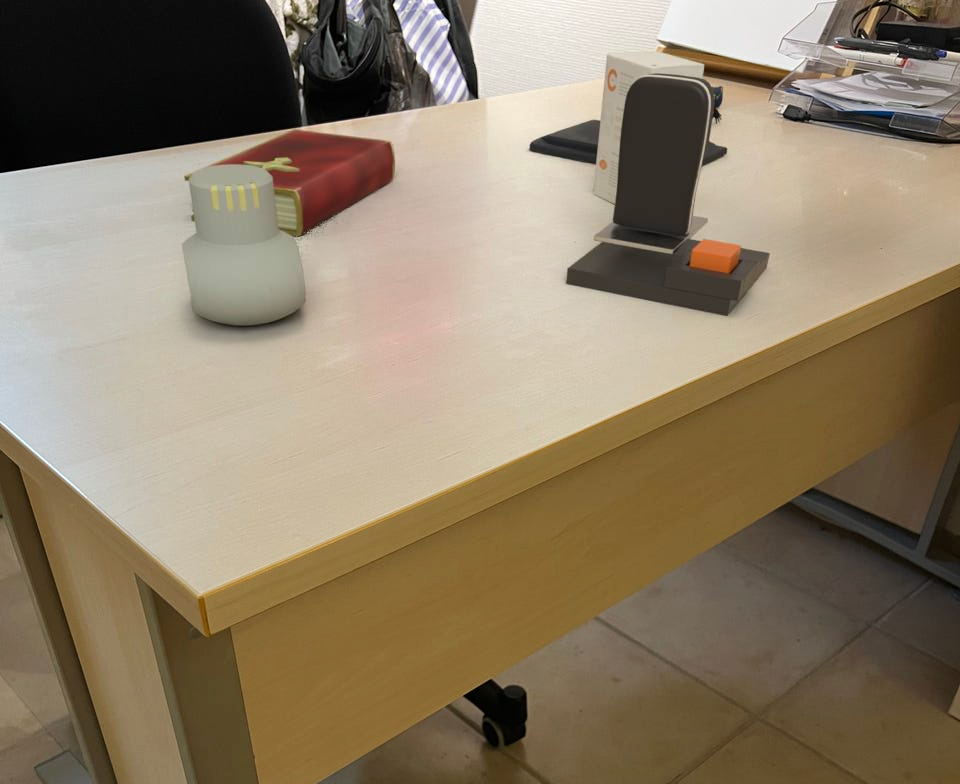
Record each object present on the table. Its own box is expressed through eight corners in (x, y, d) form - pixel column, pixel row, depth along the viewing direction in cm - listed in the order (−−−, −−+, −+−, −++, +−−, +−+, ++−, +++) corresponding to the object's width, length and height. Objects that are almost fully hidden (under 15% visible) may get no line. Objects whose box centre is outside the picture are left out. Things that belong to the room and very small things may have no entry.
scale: (772, 270, 84) (780, 235, 82) (733, 318, 75) (741, 280, 73) (619, 242, 89) (623, 208, 87) (565, 285, 80) (568, 248, 78)
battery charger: (698, 226, 82) (724, 75, 75) (687, 238, 79) (712, 83, 72) (621, 214, 84) (639, 66, 77) (608, 226, 81) (625, 74, 74)
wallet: (525, 132, 113) (592, 112, 123) (524, 149, 114) (590, 128, 124) (673, 162, 104) (733, 138, 114) (670, 180, 106) (729, 155, 115)
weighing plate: (707, 222, 84) (708, 218, 84) (672, 254, 77) (673, 249, 77) (633, 210, 86) (634, 205, 86) (593, 240, 80) (593, 235, 79)
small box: (684, 209, 97) (707, 63, 89) (632, 215, 95) (651, 67, 87) (640, 188, 103) (658, 49, 94) (591, 194, 101) (604, 52, 92)
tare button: (738, 264, 77) (741, 245, 76) (727, 276, 75) (731, 256, 74) (700, 257, 78) (703, 238, 77) (688, 269, 76) (691, 249, 75)
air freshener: (312, 335, 70) (299, 192, 64) (199, 345, 68) (174, 199, 62) (292, 284, 78) (279, 152, 72) (190, 292, 76) (166, 157, 70)
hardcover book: (395, 181, 103) (394, 138, 100) (302, 237, 88) (297, 188, 85) (298, 168, 106) (294, 126, 103) (191, 220, 91) (183, 172, 88)
